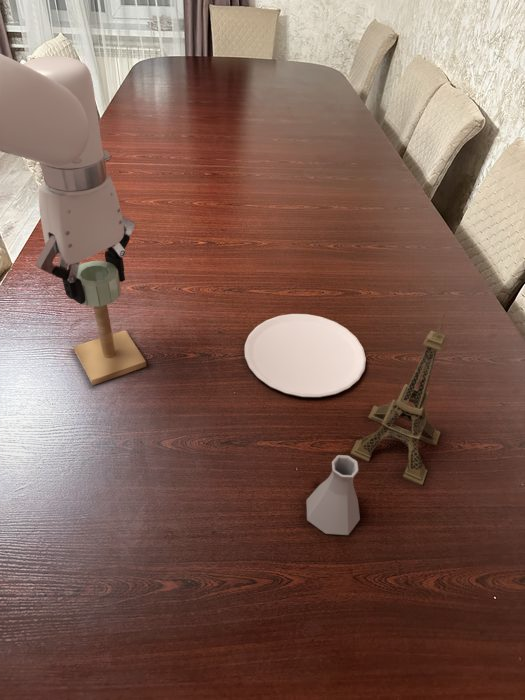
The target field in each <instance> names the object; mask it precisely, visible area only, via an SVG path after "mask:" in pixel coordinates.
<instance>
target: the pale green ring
mask: <svg viewBox="0 0 525 700" xmlns="http://www.w3.org/2000/svg"><path fill="white" fill-rule="evenodd" d="M77 278H78V279H80V280H81V283H82V287H83V292H84V297H85V303H83V304H82V305H84V306H87V307H93V306H104V305H107V306H108V305H110V304H112V303H114V302H115V301H116V300H118V299H119V298H120V296H121V292H122V288H121V287H122V286H121V282H120V280H119V274H118V270H117V268H116V267H115V265H113V264H111V263H109V262H106V260H91V261H87V262H83V263H80V264H79V268H78V273H77Z"/></svg>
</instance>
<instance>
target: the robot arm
mask: <svg viewBox="0 0 525 700" xmlns="http://www.w3.org/2000/svg"><path fill="white" fill-rule="evenodd" d="M94 90H95V89H94V83H93V78H92V73H91V70H90V69H89V67H88V66H87V65H86V63H84V62H83V61H81V60H80V59H77V58H74V57H70V56H65V55H46V56H39V57H35V58H31V59H29V60H27V61H25V62H24V63H22V62H19V61H17V60H15V59H13V58H11V57H8V56H6V55H4V54H2V53H0V152H1V153H5V154H8V155H11V156H12V155H13V156H16V157H20V158H24V159H27V160H30V161H33V162H36V163H39V164H40V168H41V174H42V177H43V180H44V183H43V184H40V185H39V187H38V188H39V189H38V206H39V207H38V208H39V216H40V224H41V230H42V235H43V240H44V247H43V249H42V250H41V252H40V254H39V256H38V257H37V259H36V261H35V266H36V268H38V269H40V270H42V271H44V272H46V273H48V274H50V275H52V276H54V277H57V278H59V279H60V280H61V281H62V283H63V288H64V292H65V295H66V297H68V298H69V299H70V300H73V301H75V302H76V303H78V304H80V305H84V304H83V303H85V297H84V292H83V287H82V283H81V280H80V279H78V278H77V273H78V268H79V265H80V264H81V263H80V262H82V261H85V260H87V259H89V258H92V257H93V256H95V255H97V254H99V253H101V252H104V261H106V262H109V263H111V264H113V265H115V267H116V268H117V270H118V274H119V280H120V283H123V282H125V281H126V277H125V265H124V257H125V256H126V253H127V252H126V249H127V246H128V244H129V242H130V240H131V237H130V236H131V235H132V233H133V231H134V229H135V227H136V222H135V221H134V220H132V219H130V218H128V217H126V216H124V215H123V213H122V209H121V204H120V201H119V197H118V193H117V191H116V190H117V189H116V188H115V185H114V182H113V179H112V178H111V175H110V174H109V173H108V172H107V167H106V163H108V162H109V161H111V159H112V158H111V154H110V152H109V151H108V150H107V149H105V150H104V149H103V141H102V135H101V129H100V128H101V127H100V123H99V116H98V110H97V103H96V96H95V91H94ZM58 254H59V255H58ZM57 255H58V261H57V265H56V264H54V261H55V259H56V257H57Z"/></svg>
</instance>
